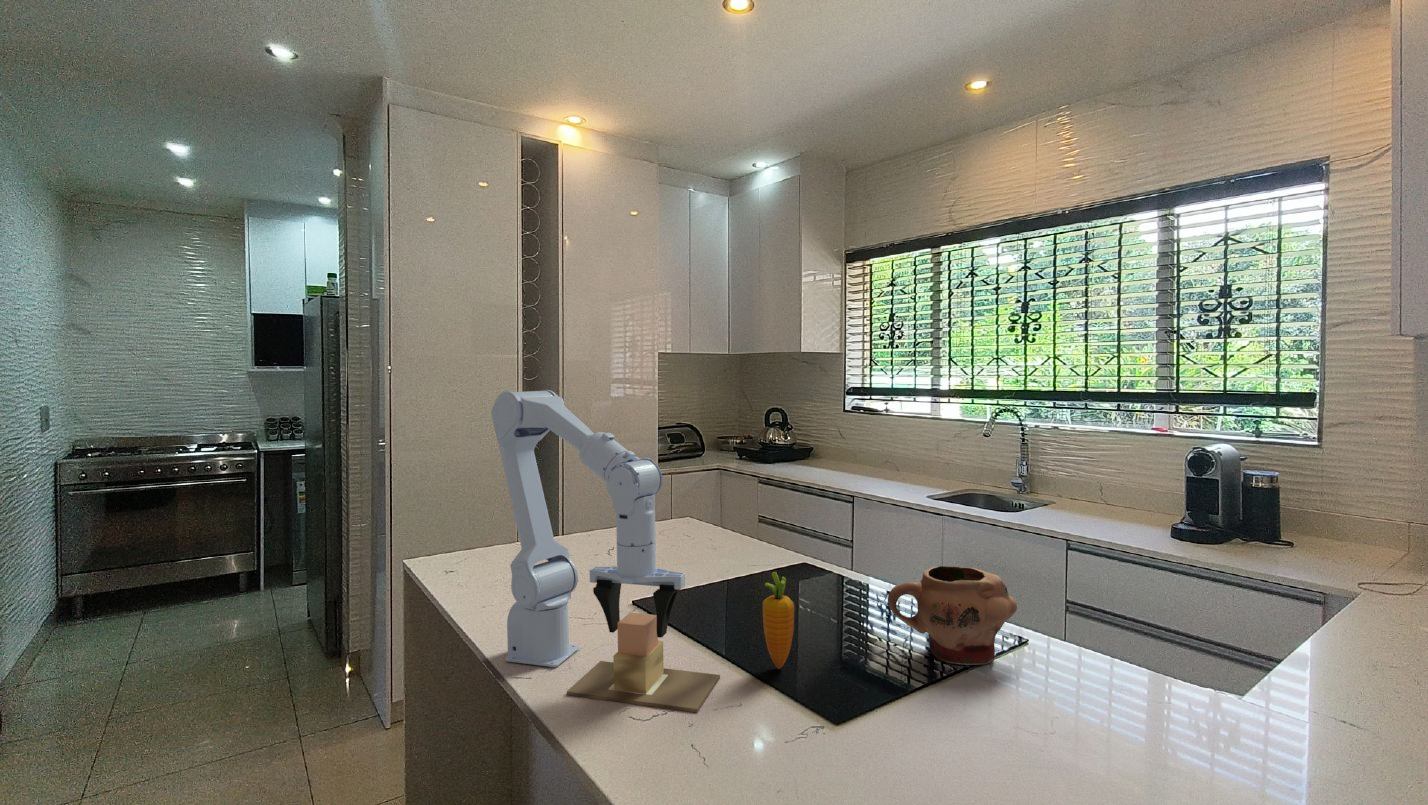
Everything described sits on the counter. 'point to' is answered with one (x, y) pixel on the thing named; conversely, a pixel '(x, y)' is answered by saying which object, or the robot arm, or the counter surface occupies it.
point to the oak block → (638, 670)
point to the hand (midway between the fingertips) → (637, 632)
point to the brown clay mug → (958, 612)
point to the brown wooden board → (666, 693)
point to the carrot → (778, 622)
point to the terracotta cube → (637, 634)
